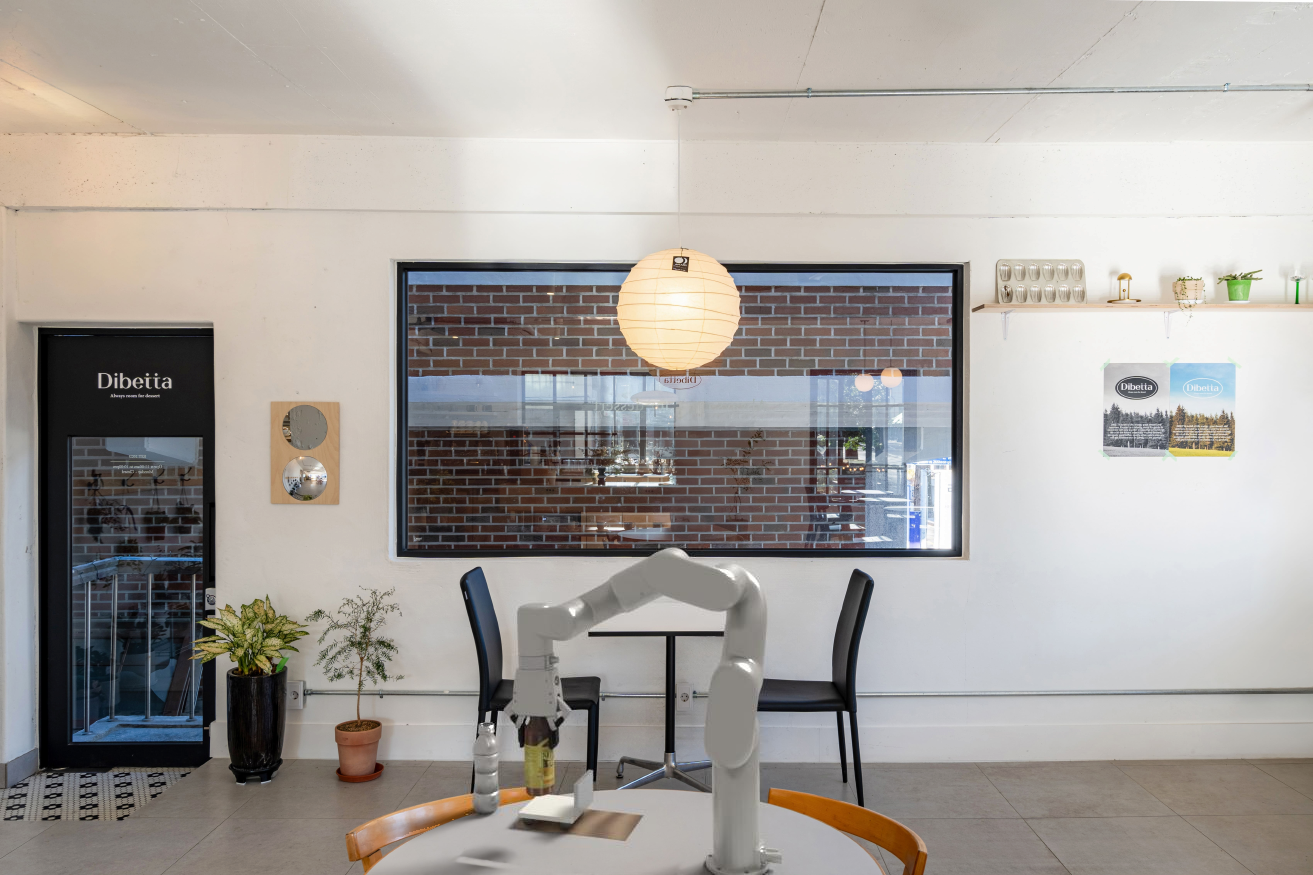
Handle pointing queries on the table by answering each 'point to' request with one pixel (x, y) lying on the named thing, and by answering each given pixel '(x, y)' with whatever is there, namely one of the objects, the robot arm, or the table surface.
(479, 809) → the silver water bottle
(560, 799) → the white bracket
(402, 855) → the table surface
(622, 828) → the clip board
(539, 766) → the sauce bottle
